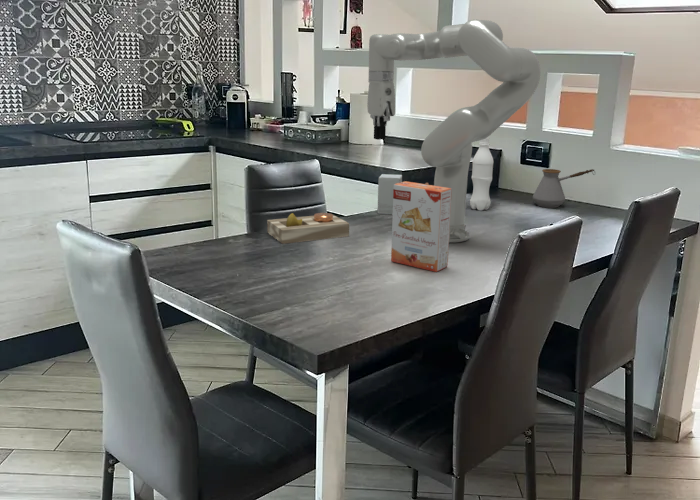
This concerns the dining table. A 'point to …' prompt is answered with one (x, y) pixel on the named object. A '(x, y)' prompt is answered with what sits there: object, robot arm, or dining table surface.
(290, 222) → the knob
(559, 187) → the coffee pot
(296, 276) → the dining table surface
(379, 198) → the supplement box
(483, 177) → the water bottle
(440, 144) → the robot arm
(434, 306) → the dining table surface
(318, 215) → the plunger
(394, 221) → the cracker box
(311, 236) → the mount
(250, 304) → the dining table surface
